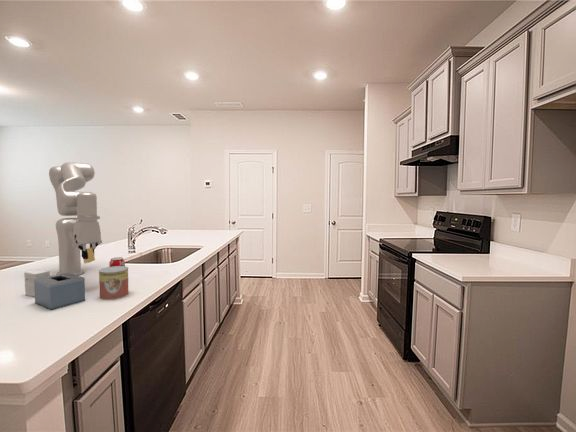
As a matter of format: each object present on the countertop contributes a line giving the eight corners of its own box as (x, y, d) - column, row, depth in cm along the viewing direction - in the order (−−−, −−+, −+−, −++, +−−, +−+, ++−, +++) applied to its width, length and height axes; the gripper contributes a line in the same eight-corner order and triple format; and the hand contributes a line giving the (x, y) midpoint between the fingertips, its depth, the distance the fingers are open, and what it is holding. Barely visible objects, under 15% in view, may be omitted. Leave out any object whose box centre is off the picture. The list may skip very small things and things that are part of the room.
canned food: (97, 301, 121) (97, 273, 120) (101, 293, 131) (100, 267, 130) (128, 297, 126) (127, 270, 125) (129, 289, 136) (128, 265, 135)
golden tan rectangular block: (84, 263, 134) (81, 251, 134) (89, 262, 136) (86, 250, 136) (89, 261, 131) (86, 248, 132) (95, 259, 133) (92, 247, 134)
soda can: (118, 283, 145) (117, 260, 144) (106, 282, 146) (105, 259, 146) (128, 279, 152) (128, 257, 151) (117, 278, 153) (116, 256, 153)
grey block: (35, 302, 118) (34, 279, 117) (68, 294, 128) (67, 272, 127) (51, 310, 111) (50, 285, 110) (85, 300, 121) (84, 277, 121)
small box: (51, 293, 129) (50, 270, 128) (36, 297, 123) (35, 274, 123) (39, 291, 131) (38, 269, 131) (25, 295, 126) (23, 272, 125)
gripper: (100, 217, 141) (101, 254, 143) (63, 219, 127) (64, 260, 129) (109, 218, 137) (110, 256, 139) (71, 221, 124) (72, 262, 125)
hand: (88, 257), depth 134 cm, fingers closed on golden tan rectangular block, 2 cm apart
